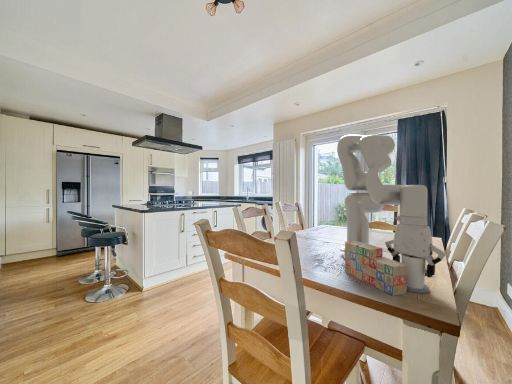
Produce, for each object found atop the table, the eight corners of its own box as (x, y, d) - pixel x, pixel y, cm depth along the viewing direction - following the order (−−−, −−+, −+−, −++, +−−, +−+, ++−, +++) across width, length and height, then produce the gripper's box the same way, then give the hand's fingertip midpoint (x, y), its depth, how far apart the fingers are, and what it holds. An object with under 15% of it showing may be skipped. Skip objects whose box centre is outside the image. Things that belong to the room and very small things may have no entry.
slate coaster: (391, 285, 74) (391, 283, 74) (403, 279, 79) (403, 277, 79) (423, 296, 66) (423, 293, 66) (433, 288, 71) (433, 286, 71)
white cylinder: (396, 282, 75) (396, 253, 75) (411, 279, 76) (411, 252, 76) (415, 290, 68) (415, 259, 68) (430, 288, 70) (431, 257, 70)
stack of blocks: (407, 293, 68) (407, 255, 68) (392, 296, 66) (393, 257, 66) (356, 269, 89) (357, 240, 88) (344, 271, 87) (344, 241, 87)
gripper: (380, 219, 77) (380, 266, 78) (441, 226, 63) (440, 283, 63) (390, 217, 82) (390, 262, 82) (450, 223, 67) (449, 277, 67)
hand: (412, 271), depth 72 cm, fingers open, 9 cm apart
